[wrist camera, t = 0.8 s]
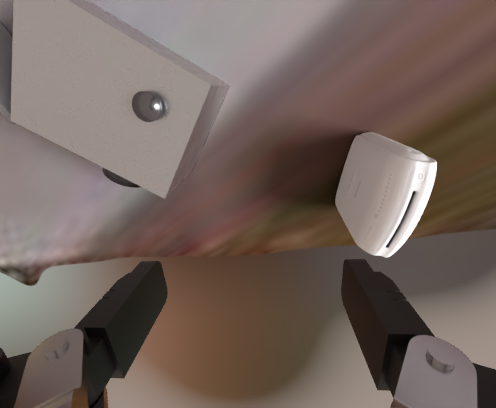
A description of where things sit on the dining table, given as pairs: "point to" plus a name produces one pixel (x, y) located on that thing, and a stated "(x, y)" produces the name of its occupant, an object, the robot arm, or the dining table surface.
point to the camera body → (110, 93)
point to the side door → (5, 72)
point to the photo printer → (383, 192)
